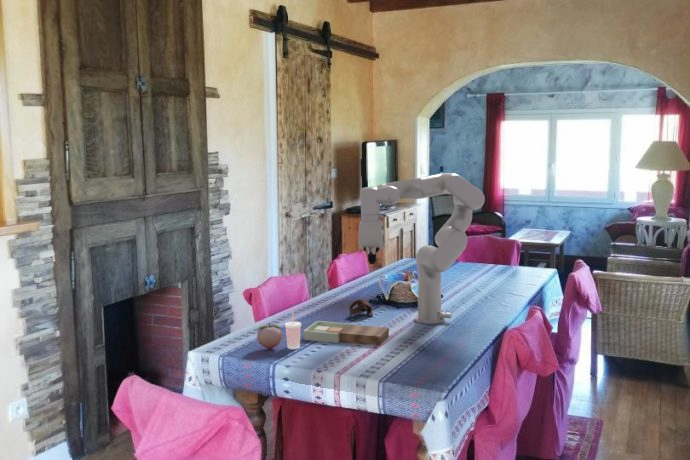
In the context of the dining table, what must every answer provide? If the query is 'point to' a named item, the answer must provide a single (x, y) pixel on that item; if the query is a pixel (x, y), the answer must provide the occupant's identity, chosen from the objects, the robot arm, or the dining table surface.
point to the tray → (323, 336)
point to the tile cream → (321, 328)
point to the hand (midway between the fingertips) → (372, 263)
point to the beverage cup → (293, 334)
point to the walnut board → (364, 335)
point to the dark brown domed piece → (360, 307)
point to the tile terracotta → (335, 330)
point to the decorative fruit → (269, 336)
